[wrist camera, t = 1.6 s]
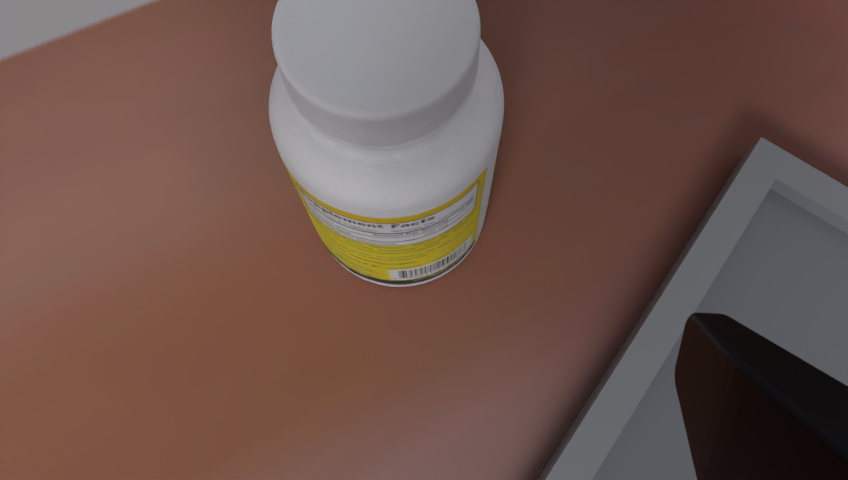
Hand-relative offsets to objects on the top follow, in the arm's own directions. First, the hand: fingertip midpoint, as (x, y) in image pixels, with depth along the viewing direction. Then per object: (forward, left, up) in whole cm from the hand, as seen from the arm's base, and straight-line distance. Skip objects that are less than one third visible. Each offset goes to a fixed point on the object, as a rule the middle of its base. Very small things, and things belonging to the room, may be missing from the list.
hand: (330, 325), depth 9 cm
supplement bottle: (+5, +3, -12) cm, 14 cm away
